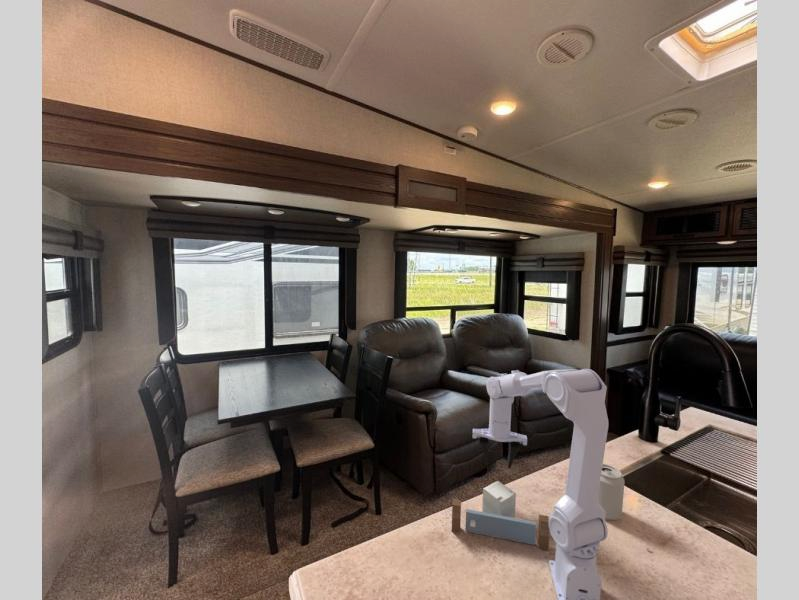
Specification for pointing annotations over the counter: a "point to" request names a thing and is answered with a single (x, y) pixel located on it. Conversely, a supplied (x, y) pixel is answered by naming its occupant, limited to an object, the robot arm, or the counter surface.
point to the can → (611, 492)
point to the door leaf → (501, 526)
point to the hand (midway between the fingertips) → (497, 464)
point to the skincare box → (499, 500)
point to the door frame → (542, 527)
